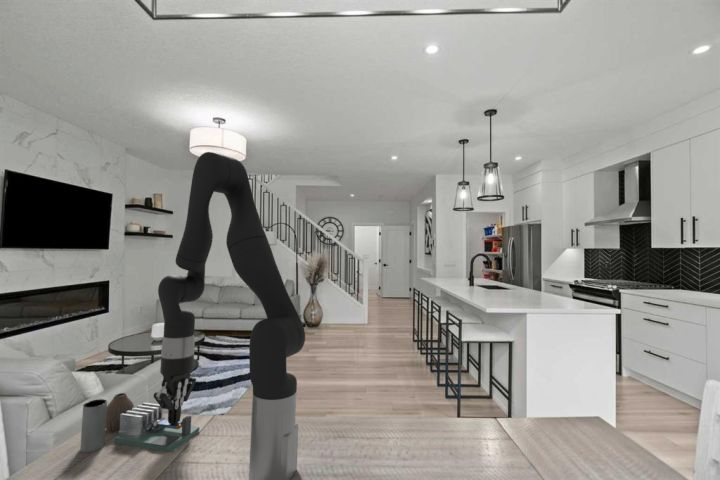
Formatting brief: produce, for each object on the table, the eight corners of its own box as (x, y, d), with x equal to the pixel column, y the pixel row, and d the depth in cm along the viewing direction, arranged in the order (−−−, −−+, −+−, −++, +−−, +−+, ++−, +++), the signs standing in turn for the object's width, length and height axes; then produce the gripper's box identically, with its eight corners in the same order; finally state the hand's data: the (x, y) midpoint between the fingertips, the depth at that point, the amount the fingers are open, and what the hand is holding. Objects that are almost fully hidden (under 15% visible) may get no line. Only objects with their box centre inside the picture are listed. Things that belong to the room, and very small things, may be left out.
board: (199, 431, 93) (199, 426, 93) (170, 452, 82) (170, 446, 82) (146, 424, 96) (147, 418, 96) (112, 443, 86) (113, 437, 86)
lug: (190, 432, 90) (191, 416, 90) (185, 436, 88) (186, 419, 88) (185, 431, 90) (186, 415, 90) (179, 435, 88) (180, 418, 88)
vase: (117, 436, 89) (120, 401, 89) (95, 433, 90) (97, 398, 91) (140, 424, 95) (142, 391, 96) (118, 421, 97) (120, 388, 97)
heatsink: (169, 424, 93) (170, 405, 94) (145, 439, 85) (146, 418, 86) (144, 421, 95) (145, 402, 95) (118, 435, 87) (119, 414, 87)
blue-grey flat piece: (185, 425, 91) (186, 420, 91) (177, 431, 88) (177, 426, 88) (161, 421, 92) (161, 417, 92) (151, 427, 89) (151, 422, 89)
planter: (76, 453, 81) (79, 407, 81) (85, 443, 85) (88, 399, 86) (99, 451, 82) (102, 406, 83) (107, 441, 86) (110, 398, 87)
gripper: (172, 361, 83) (168, 437, 82) (207, 348, 96) (203, 413, 95) (144, 359, 85) (140, 433, 84) (182, 345, 98) (179, 410, 97)
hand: (174, 422), depth 90 cm, fingers closed
